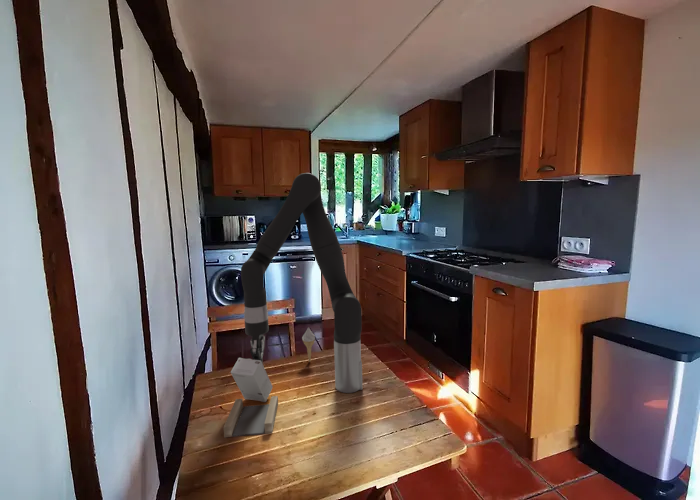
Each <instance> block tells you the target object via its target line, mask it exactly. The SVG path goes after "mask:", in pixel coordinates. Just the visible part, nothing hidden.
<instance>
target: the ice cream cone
mask: <svg viewBox="0 0 700 500" xmlns="http://www.w3.org/2000/svg"><path fill="white" fill-rule="evenodd" d="M301 339H302V343H303V345H304V346H305V347H306V351H307V357H308V362H309V363H310V362H311V361H312V359H311V358H312V348H313V345H314V344H315V341H316V335H315V334H314V332H313V331H311V329H310V327H309V326H308V327H307V329H306V331H305V332H304V334H303V335H302V337H301Z"/></svg>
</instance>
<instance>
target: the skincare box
mask: <svg viewBox="0 0 700 500" xmlns="http://www.w3.org/2000/svg"><path fill="white" fill-rule="evenodd" d="M230 374H231V376H232V378H233V379H234V382H235V383H236V386H237V388H238V389H239V391H240V393H241V394H242V397H243V398H244V399H245V400H249V401H250V400H252V401H258V402H262V403H266V402H267V400H268V398H269V396H270V394H271V392H272V391H273V387H274V386H273V384H272V381H271V380H270V377H269V375H268V373H267V371H266V369H265V367H264V363H263V364H262V362H261V360H253V358H242V357H237V361H236V362H235V364H234V366H233V367H232V369H231V371H230Z"/></svg>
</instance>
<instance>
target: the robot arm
mask: <svg viewBox="0 0 700 500" xmlns="http://www.w3.org/2000/svg"><path fill="white" fill-rule="evenodd" d="M321 185H322V184H321V182H320V180H319V178H318V177H317V176H316V175H315V174H313V173H310V172H304V173H300V174H299V175H297V176H296V177H295V178H294V180H293V181H292V185H291V188H290V190H289V193H288V194H287V196H286V199H285V201H284V203H283V205H282V206H281V208H280V209H279V210H278V213H277V214H276V215H275V217H274V218H273V219H272V221H271V222H270V224H269V225H268V227H267V228H266V229H265V231H264V232H263V234H262V236H261V237H260V239H259V240H258V241H257V244H256V246H255V247H256V248H255V249H254V250H253V252H252V253H251V254H250V256H249V257H248V259H247V260H246V261H244V263H243V264H242V265H241V268H240V279H241V284H242V289H243V300H244V301H243V302H244V310H243V311H244V312H243V313H244V314H243V316H244V318H243V319H244V332H245V334H246V335H247V336H251V339H250V340H249V341H250V346H251V348H250V349H249V351H250V356H251V359H252V360H261V362H262V364H263V365H264V363H263V362H264V361H263V359H264V358H263V356H264V352H265V338H266V336H265V335H264V334H267V333H268V332H269V330H270V329H269V328H270V327H269V326H270V325H269V311H268V307H267V306H268V304H267V292H266V289H265V284H264V283H265V282H264V274H265V273H266V271H267V269H268V268H269V266H270V265H271V262H272V261H273V259H274V257H276V256H277V254H278V253H279V251H280V250H281V248H282V247H283V245H284V244H285V242H286V240H287V238H288V237H289V235H290V234H291V231H292V230H293V228H294V226H295V224H296V223H297V221H298V219H299V218H300V217H301V215H302V214H303V217H304V220H305V224H306V228H307V229H306V230H307V234H308V238H309V243H310V247H311V250H312V252H313V255H314V258H315V261H316V263H317V266H318V269H319V270H320V272H321V274H322V276H323V279H324V281H325V282H326V285H327V286H326V287H327V289H328V293H329V298H330V302H331V309H332V311H333V318H334V320H333V322H334V331H333V351H334V352H333V353H334V355H333V356H334V383H335V384H334V385H335V390H336V391H338V392H341V393H344V394H346V393H347V394H351V393H352V394H353V393H356V392H357V391H362V390H363V387H364V386H363V363H362V352H361V351H362V350H361V349H362V348H361V344H362V343H361V342H362V341H361V335H362V330H363V329H362V327H363V326H362V321H363V320H362V317H363V316H362V314H363V313H362V306H361V305H362V304H361V303H360V301H359V300H358V298H357V297H356V296H355V293H354V291H353V290H352V288H351V285H350V283H349V280H348V277H347V274H346V268H345V260H344V255H343V251H342V247H341V245H340V241H339V239H338V236H337V234H336V232H335V230H334V227H333V226H332V223H331V221H330V219H329V218H328V215H327V213H326V210H325V206H324V203H323V199H322V194H321V191H322V186H321Z"/></svg>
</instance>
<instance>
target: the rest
mask: <svg viewBox="0 0 700 500" xmlns="http://www.w3.org/2000/svg"><path fill="white" fill-rule="evenodd" d="M243 401H244V400H243V398H235V400H234V402H233V405H232V407H231V409H230V412H229V413H228V416H227V419H226V421H225V423H224V425H223V435H224V436H223V437H224V438H231V437H242V436H243V437H245V436H255V435H265V434H266V435H268V434H273V432H274V428H275V421H276V417H277V413H278V407H279V399H278V395H273V396H272V395H271V397H270V400H269V404H268V403H267V404H257V405H246V406H245V405H244V403H243Z"/></svg>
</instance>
